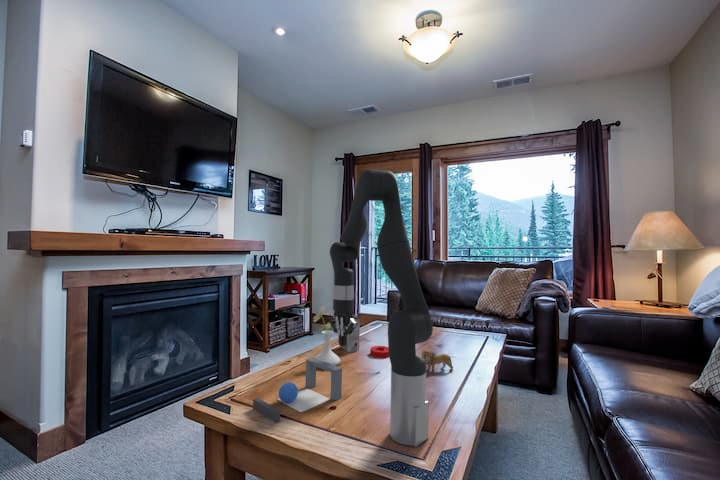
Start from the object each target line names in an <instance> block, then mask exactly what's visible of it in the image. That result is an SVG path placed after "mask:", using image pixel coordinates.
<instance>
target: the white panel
mask: <svg viewBox="0 0 720 480" xmlns="http://www.w3.org/2000/svg"><path fill="white" fill-rule="evenodd" d="M330 400H331V398H329V397H326V396H324V395H322V394H321V393H319V392H316V391H314V390H312V389H311V388H310V389H308V388H306V387H305V388H304V389H302V390H298V395H297V397H296V399H295V400H294V401H292V402H290V403H285V402H283V401H282V400H281V399H280V398H277V401H279V402H281V403H282V402H283V403H282V404H284V405H286V406H288V407H290V408H291V409H293V410H295V411H297V412H299V413H303V412H305V411H308V410H310V409H313V408H315V407H317V406H320V405H322V404H325V403H326V402H328V401H330Z"/></svg>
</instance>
